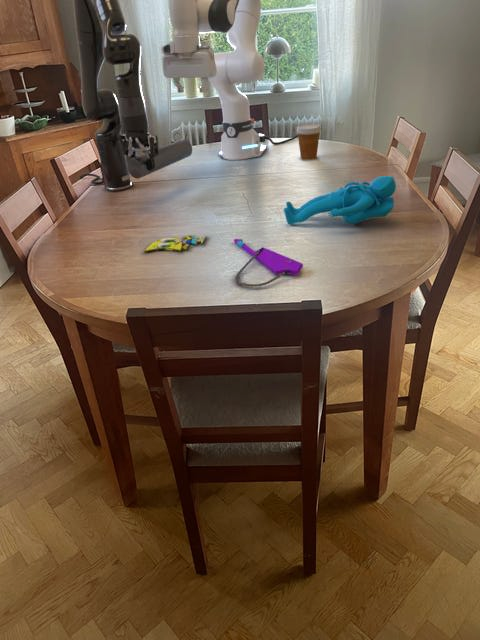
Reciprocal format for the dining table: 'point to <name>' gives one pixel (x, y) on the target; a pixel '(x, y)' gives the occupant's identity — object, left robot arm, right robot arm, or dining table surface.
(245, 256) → the dining table surface
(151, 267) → the dining table surface
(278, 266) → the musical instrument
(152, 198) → the dining table surface
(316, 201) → the toy
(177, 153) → the rod
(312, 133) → the cup of beer
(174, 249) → the toy
